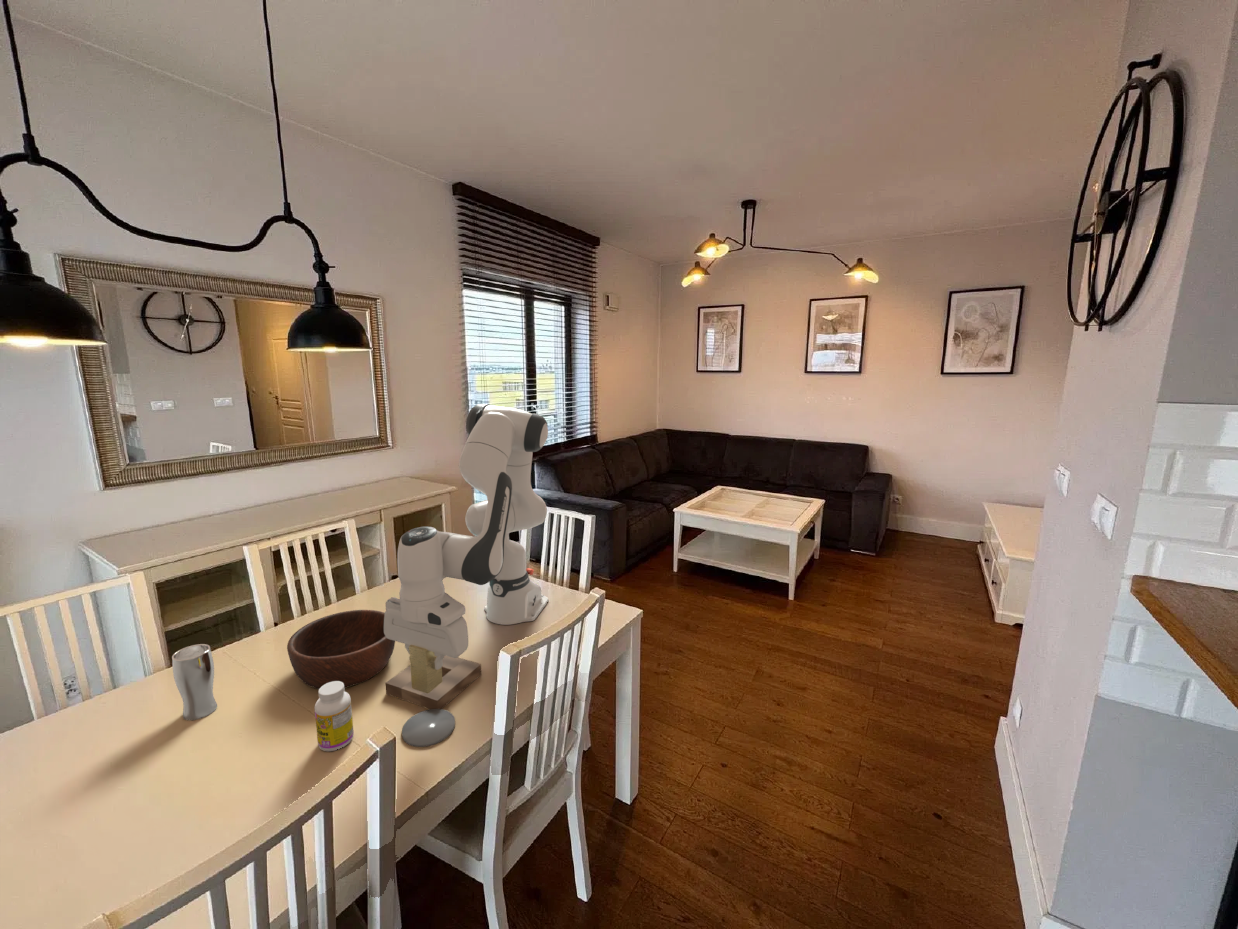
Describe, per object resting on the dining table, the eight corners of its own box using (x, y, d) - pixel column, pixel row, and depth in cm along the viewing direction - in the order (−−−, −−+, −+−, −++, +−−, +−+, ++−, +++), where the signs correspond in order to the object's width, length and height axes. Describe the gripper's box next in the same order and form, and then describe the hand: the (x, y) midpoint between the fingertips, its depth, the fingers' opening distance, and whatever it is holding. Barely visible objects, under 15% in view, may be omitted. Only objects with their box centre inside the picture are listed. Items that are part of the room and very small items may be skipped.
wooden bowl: (340, 636, 148) (337, 604, 146) (417, 648, 143) (415, 615, 141) (265, 689, 124) (261, 651, 122) (355, 705, 119) (351, 665, 117)
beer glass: (176, 725, 111) (166, 664, 108) (185, 706, 117) (175, 647, 114) (216, 716, 114) (207, 656, 111) (222, 698, 120) (214, 640, 117)
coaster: (427, 706, 119) (427, 703, 119) (465, 720, 115) (465, 717, 115) (390, 737, 109) (390, 734, 109) (430, 753, 105) (430, 750, 105)
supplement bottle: (313, 742, 107) (307, 688, 105) (346, 726, 112) (341, 673, 110) (325, 758, 103) (320, 702, 100) (359, 740, 108) (354, 687, 105)
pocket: (433, 659, 138) (432, 649, 137) (481, 674, 132) (481, 664, 131) (386, 693, 123) (385, 682, 123) (437, 712, 117) (437, 700, 117)
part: (426, 677, 112) (424, 636, 110) (442, 682, 111) (440, 640, 109) (411, 688, 108) (408, 646, 106) (428, 693, 107) (425, 650, 105)
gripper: (373, 601, 107) (378, 660, 110) (451, 621, 100) (454, 684, 102) (397, 589, 113) (400, 646, 115) (471, 607, 105) (474, 667, 108)
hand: (426, 664), depth 109 cm, fingers closed on part, 4 cm apart
